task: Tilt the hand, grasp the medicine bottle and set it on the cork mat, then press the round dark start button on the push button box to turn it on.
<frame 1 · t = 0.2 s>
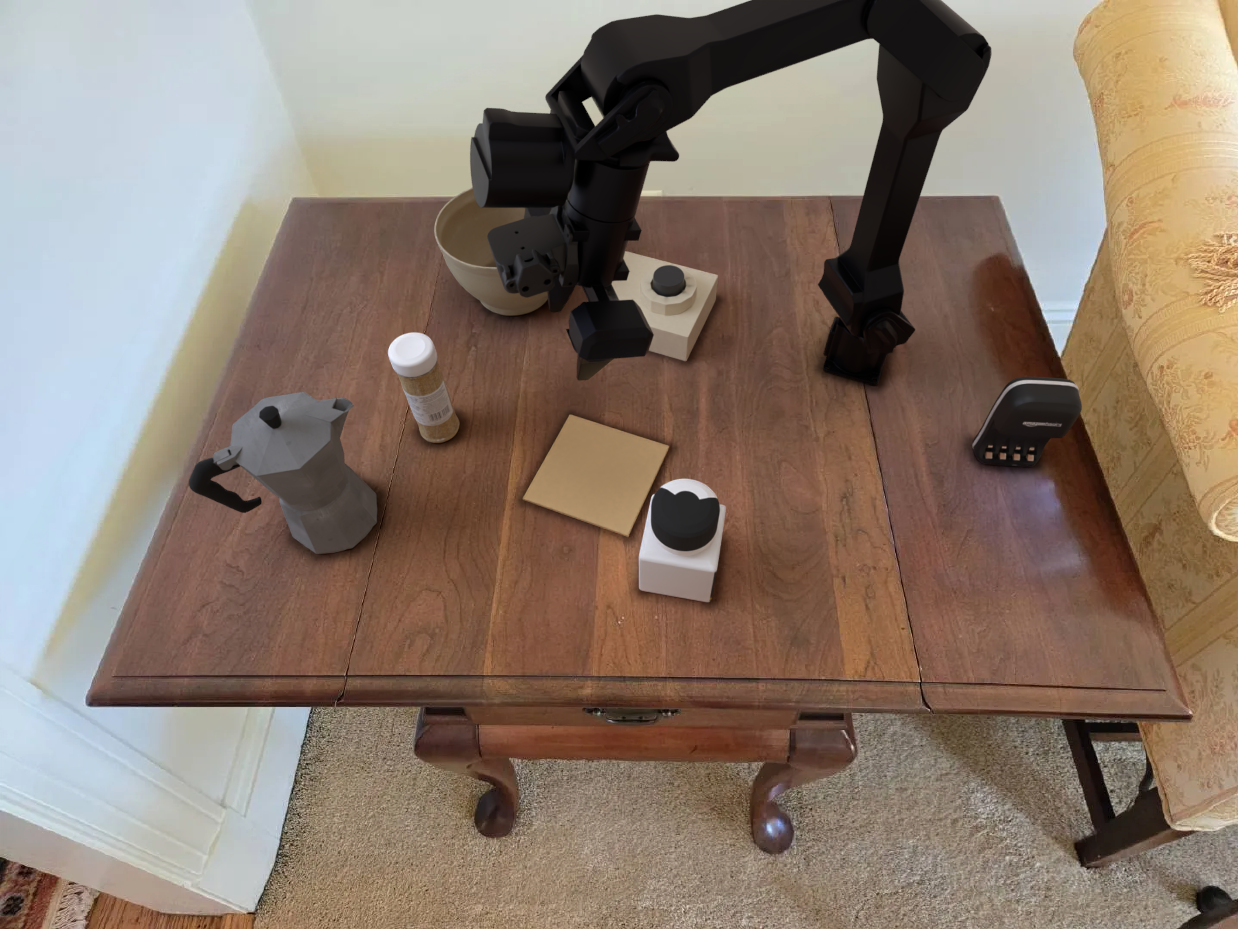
hand: (568, 344, 74), 15 cm above the table, tool tilted 15°, fingers open, 9 cm apart
planter bowl: (515, 291, 100), on the table
medicine bottle: (680, 566, 77), on the table
power button: (668, 281, 91), point 6 cm above the table, slide at 0.1 cm
battery charger: (1003, 459, 84), on the table
sprinkles bottle: (440, 429, 88), on the table
cork mat: (597, 473, 84), on the table
coffeepot: (327, 522, 81), on the table
push button box: (652, 316, 97), on the table
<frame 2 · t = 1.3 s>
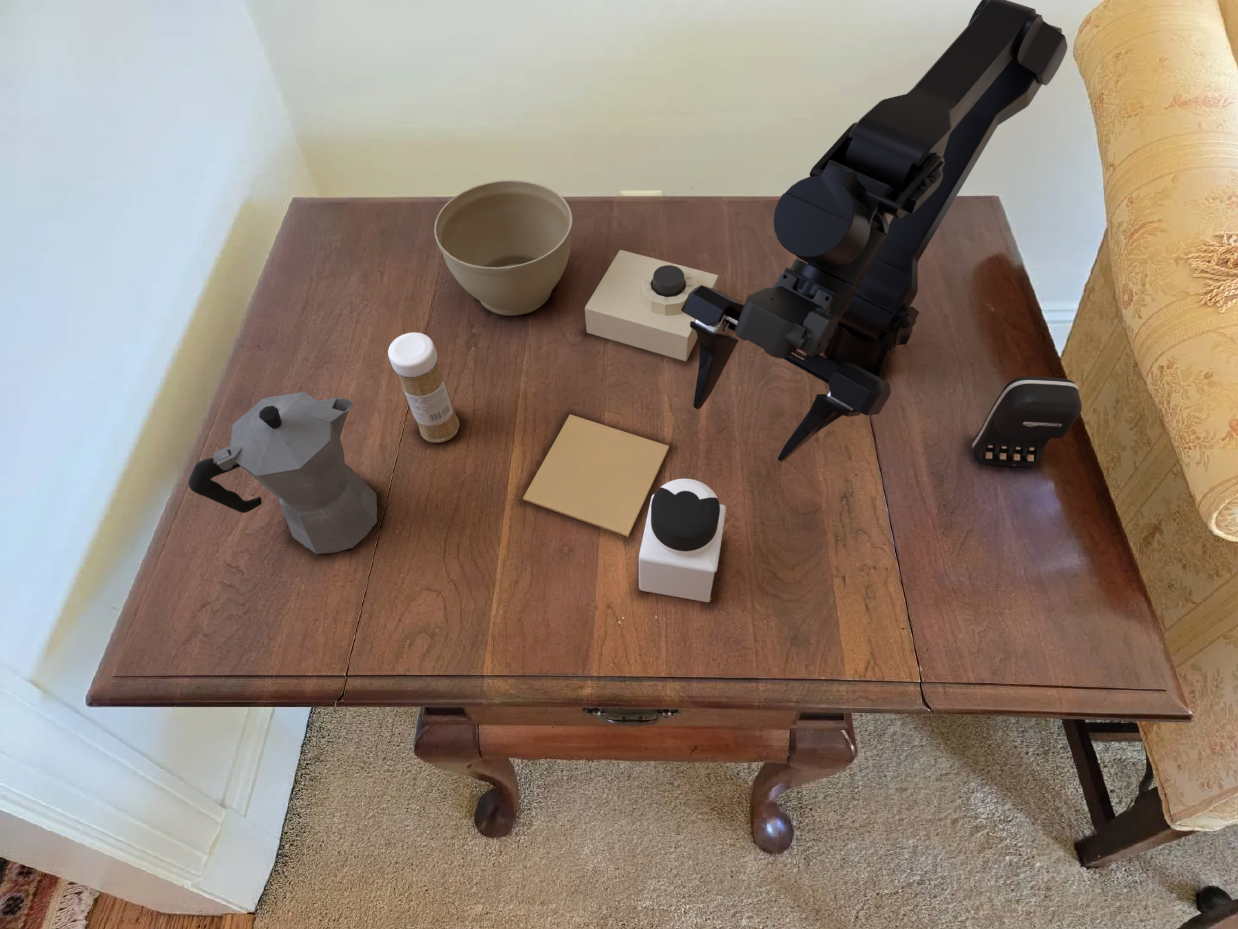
hand: (737, 433, 70), 13 cm above the table, tool tilted 45°, fingers open, 9 cm apart
nothing on the table moved.
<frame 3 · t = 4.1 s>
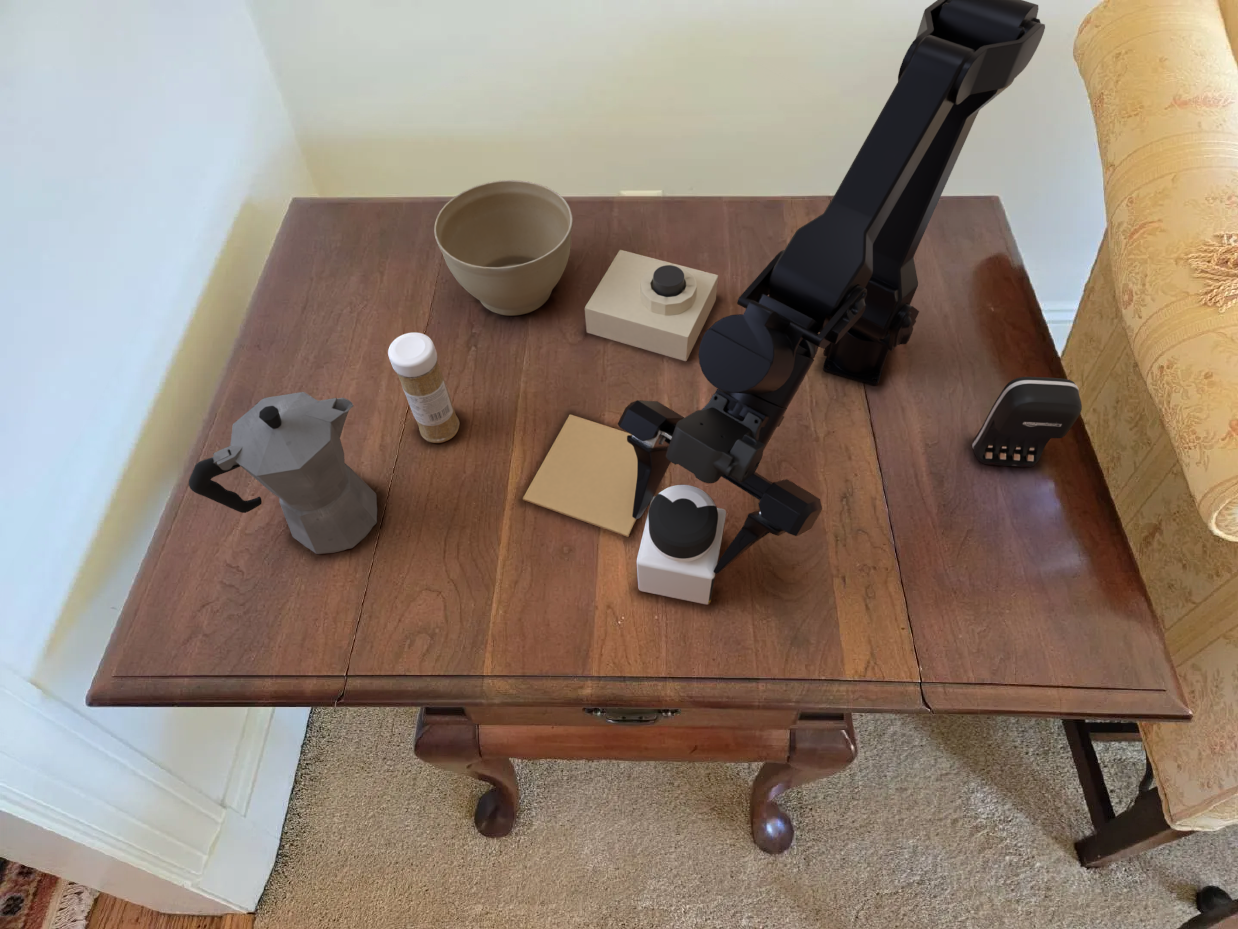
hand: (674, 544, 71), 7 cm above the table, tool tilted 45°
medicine bottle: (680, 566, 77), on the table, touching gripper
everything else where it was.
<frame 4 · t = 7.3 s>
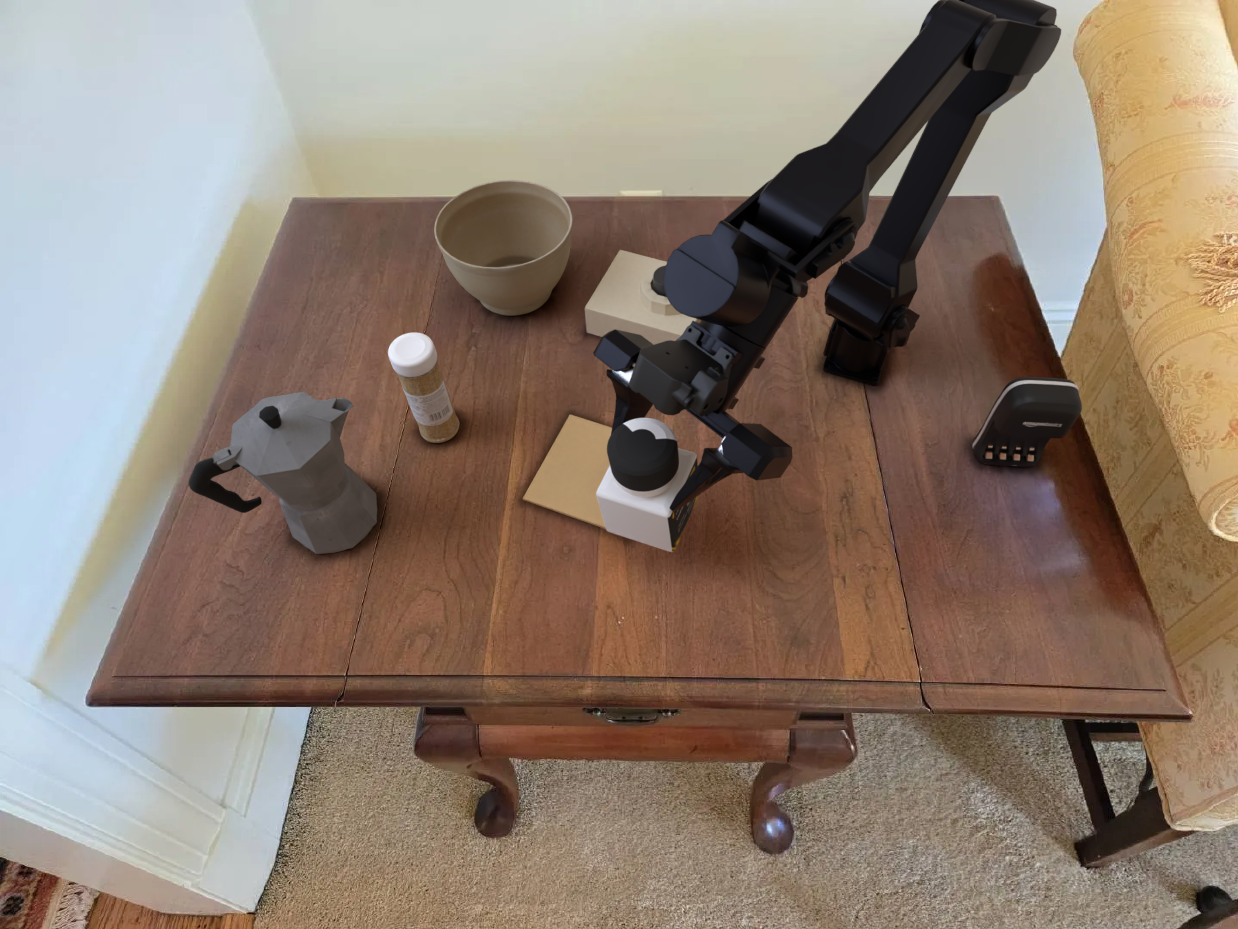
hand: (641, 482, 68), 12 cm above the table, tool tilted 45°, fingers closed on medicine bottle, 7 cm apart
medicine bottle: (653, 513, 75), point 5 cm above the table, touching gripper
everything else where it was.
when the fingers open (8 cm above the table, at t = 10.6 s): medicine bottle stays where it is, resting on cork mat.
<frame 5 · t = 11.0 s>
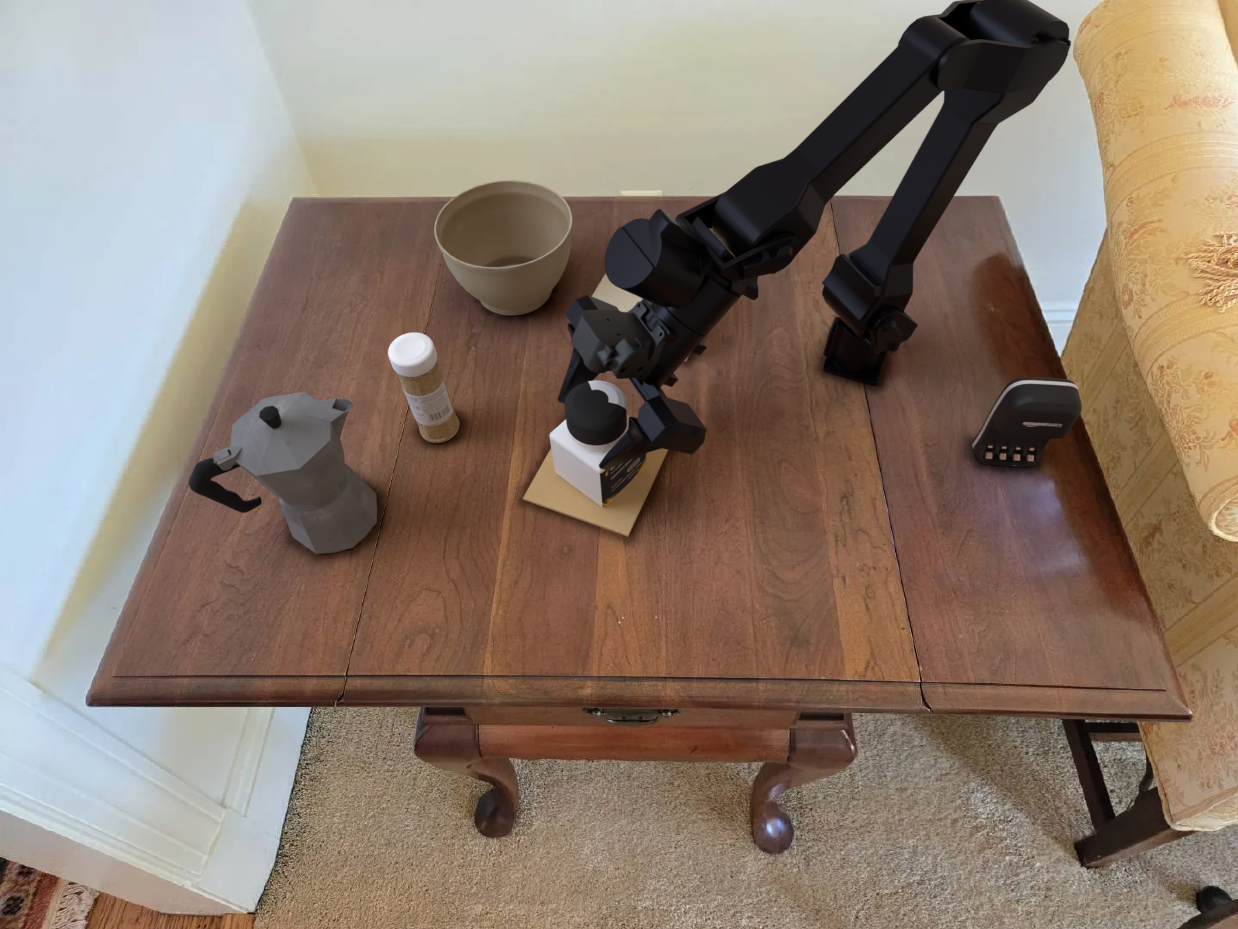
hand: (581, 434, 76), 8 cm above the table, tool tilted 45°, fingers open, 9 cm apart
medicine bottle: (601, 470, 84), resting on cork mat
everything else where it was.
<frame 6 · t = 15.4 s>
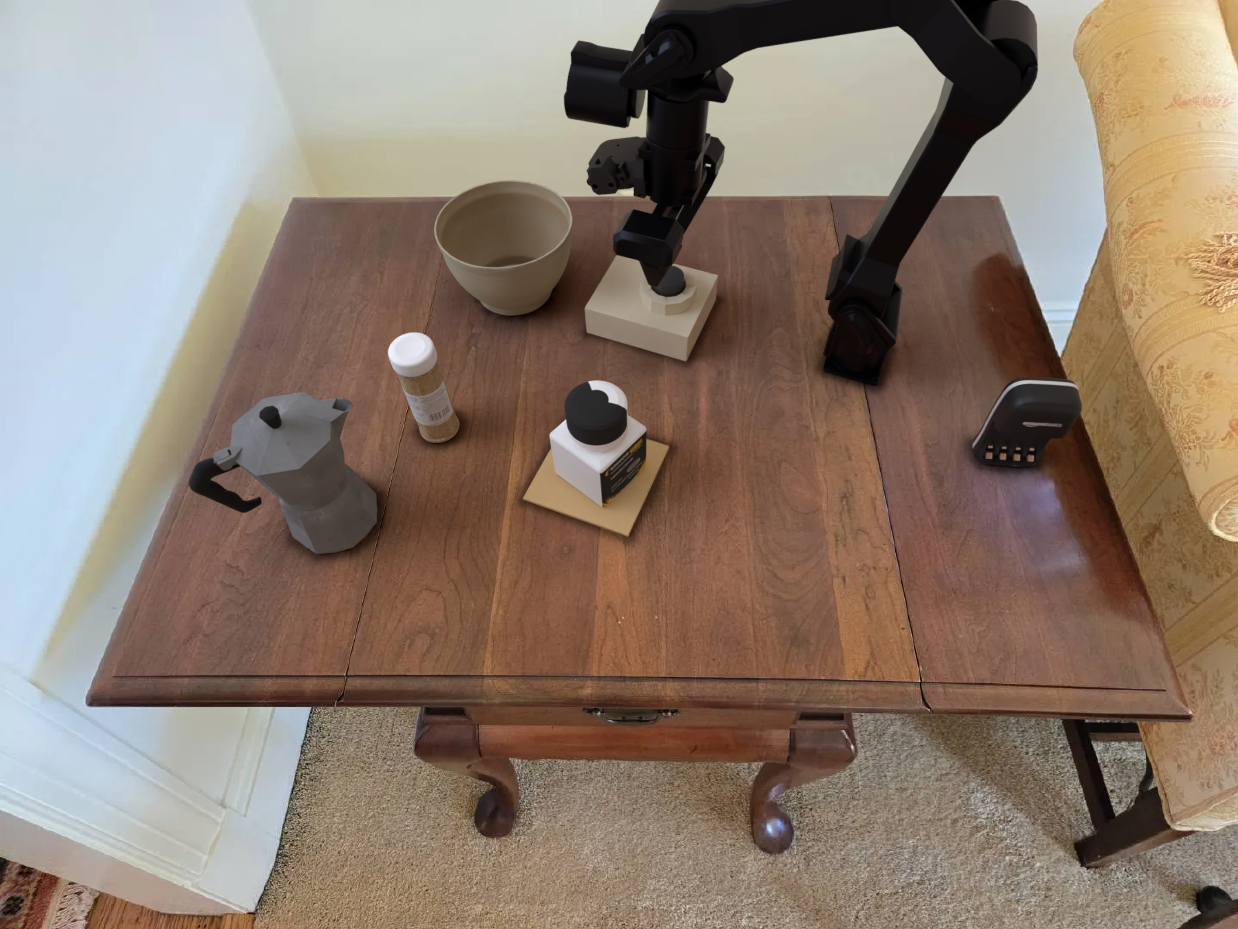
hand: (667, 258, 87), 10 cm above the table, tool pointing down, fingers open, 9 cm apart
nothing on the table moved.
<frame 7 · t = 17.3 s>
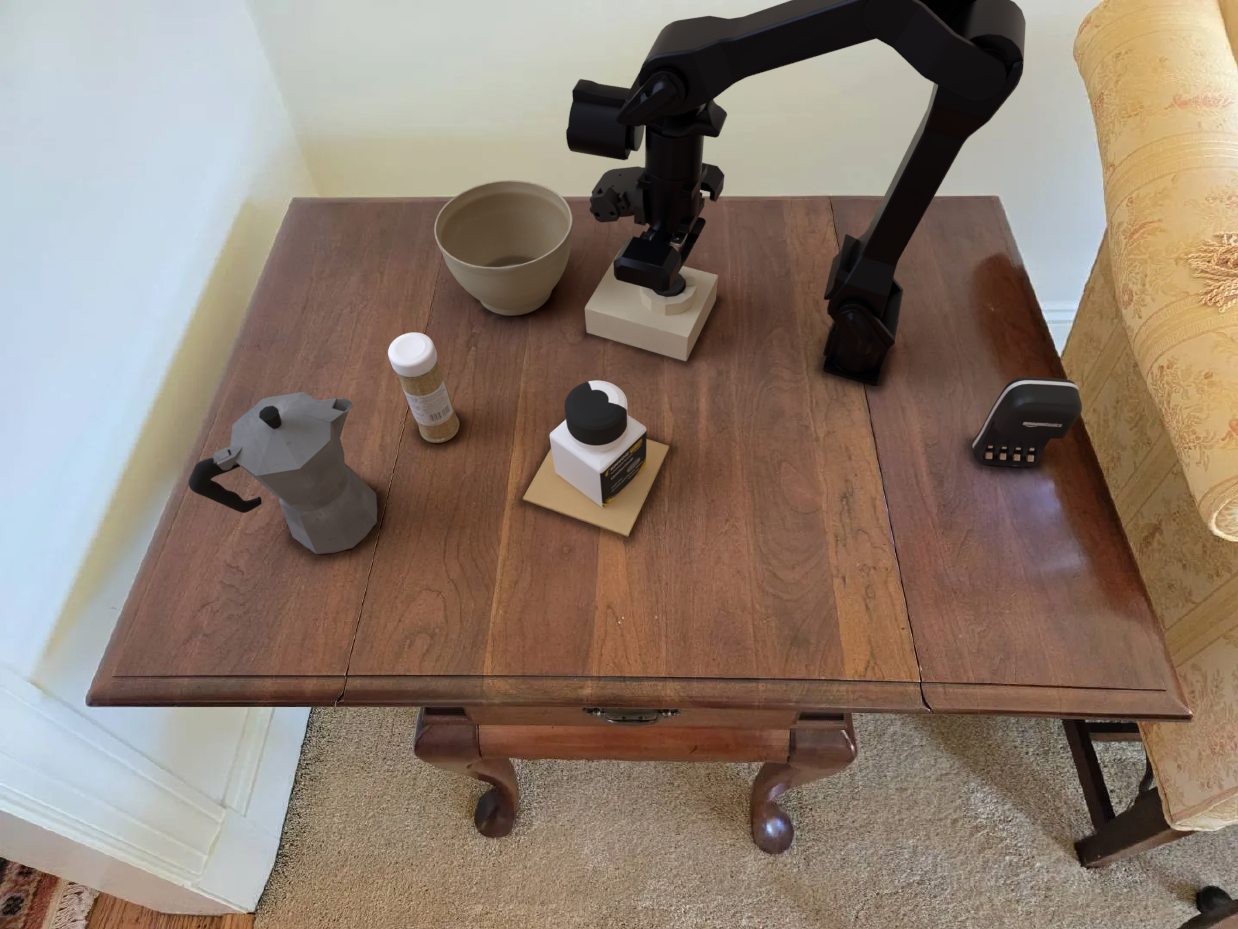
hand: (668, 280, 91), 7 cm above the table, tool pointing down, fingers closed, pressing on power button
power button: (668, 286, 91), point 6 cm above the table, slide at -0.7 cm, touching gripper
everything else where it was.
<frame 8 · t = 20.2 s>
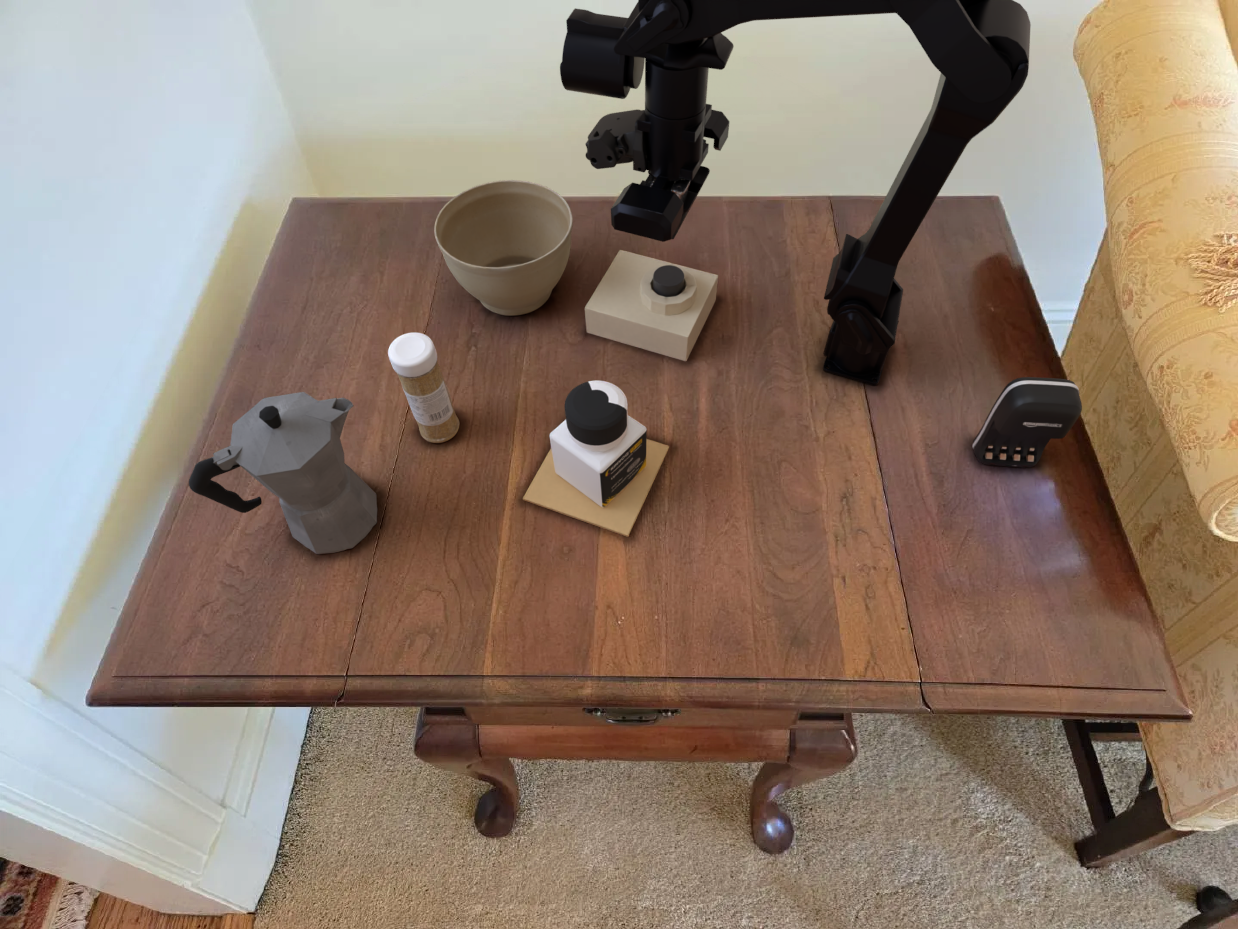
hand: (670, 236, 85), 13 cm above the table, tool pointing down, fingers closed
power button: (668, 281, 91), point 6 cm above the table, slide at 0.1 cm
everything else where it was.
at the end: medicine bottle inside the target area on the cork mat (0.4 cm from its centre), point 0.2 cm above the cork mat's base; power button pushed in 1.1 cm at the most during the clip, back to where it started at the end; power button slide at 0.1 cm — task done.
